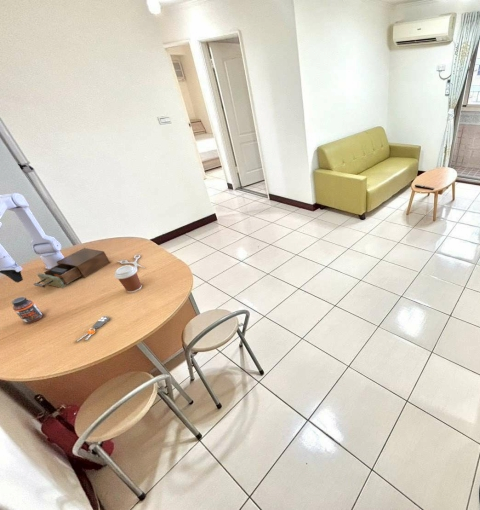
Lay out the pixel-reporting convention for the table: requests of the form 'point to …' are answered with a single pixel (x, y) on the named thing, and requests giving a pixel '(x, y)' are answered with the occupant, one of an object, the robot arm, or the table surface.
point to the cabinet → (86, 261)
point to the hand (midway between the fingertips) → (19, 281)
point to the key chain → (96, 326)
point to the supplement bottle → (26, 310)
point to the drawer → (56, 281)
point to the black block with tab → (58, 271)
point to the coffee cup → (128, 278)
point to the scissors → (132, 262)
